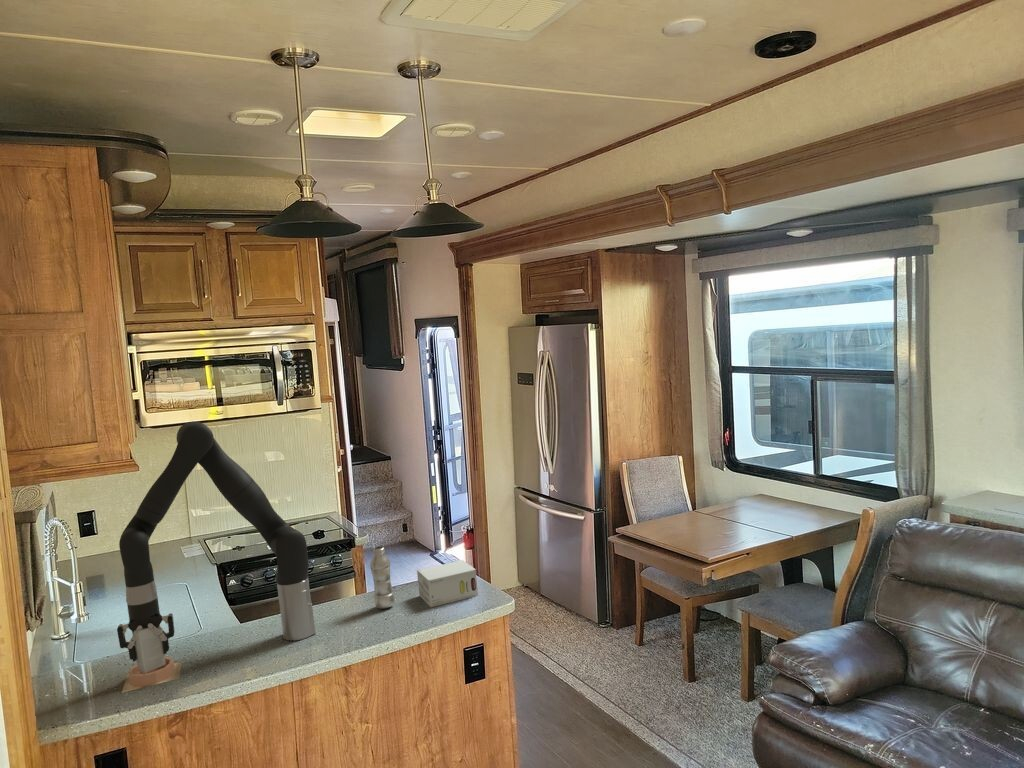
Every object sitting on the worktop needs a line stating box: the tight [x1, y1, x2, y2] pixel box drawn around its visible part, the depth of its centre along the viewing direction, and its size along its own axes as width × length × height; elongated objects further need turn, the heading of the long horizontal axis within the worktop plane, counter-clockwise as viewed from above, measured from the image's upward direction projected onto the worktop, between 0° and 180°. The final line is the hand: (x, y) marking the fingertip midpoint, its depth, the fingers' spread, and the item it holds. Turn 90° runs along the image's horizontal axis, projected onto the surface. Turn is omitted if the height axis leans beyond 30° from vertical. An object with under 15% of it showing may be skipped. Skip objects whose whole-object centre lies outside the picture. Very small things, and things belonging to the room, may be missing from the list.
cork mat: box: [121, 661, 182, 693], centre depth 197 cm, size 14×12×1 cm
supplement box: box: [416, 559, 479, 608], centre depth 238 cm, size 17×13×9 cm
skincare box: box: [131, 624, 166, 674], centre depth 197 cm, size 6×4×12 cm
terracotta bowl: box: [128, 656, 175, 687], centre depth 197 cm, size 11×11×3 cm
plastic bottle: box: [369, 545, 396, 610], centre depth 233 cm, size 6×7×20 cm
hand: (150, 656), depth 197 cm, fingers closed on skincare box, 7 cm apart
